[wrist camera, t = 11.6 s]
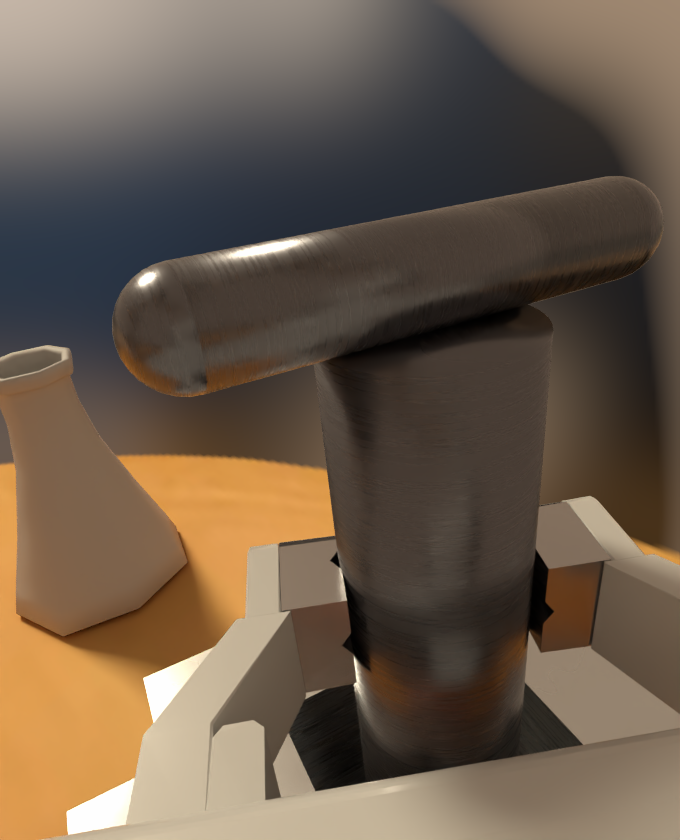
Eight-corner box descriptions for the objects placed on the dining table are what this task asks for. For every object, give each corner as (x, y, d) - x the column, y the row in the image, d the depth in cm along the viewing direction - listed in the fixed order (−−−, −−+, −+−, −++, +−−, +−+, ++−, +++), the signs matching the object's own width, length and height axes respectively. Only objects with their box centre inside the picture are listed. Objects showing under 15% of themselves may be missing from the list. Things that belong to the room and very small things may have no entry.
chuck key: (325, 1050, 11) (118, 313, 4) (269, 887, 14) (80, 250, 7) (610, 838, 14) (761, 174, 7) (521, 734, 16) (567, 165, 9)
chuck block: (170, 1838, 7) (-13, 2046, 4) (77, 832, 16) (5, 703, 14) (929, 968, 12) (1056, 823, 10) (527, 602, 22) (536, 480, 19)
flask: (218, 565, 26) (163, 350, 21) (49, 669, 22) (-66, 431, 17) (142, 501, 30) (84, 315, 26) (-7, 576, 26) (-109, 371, 22)
